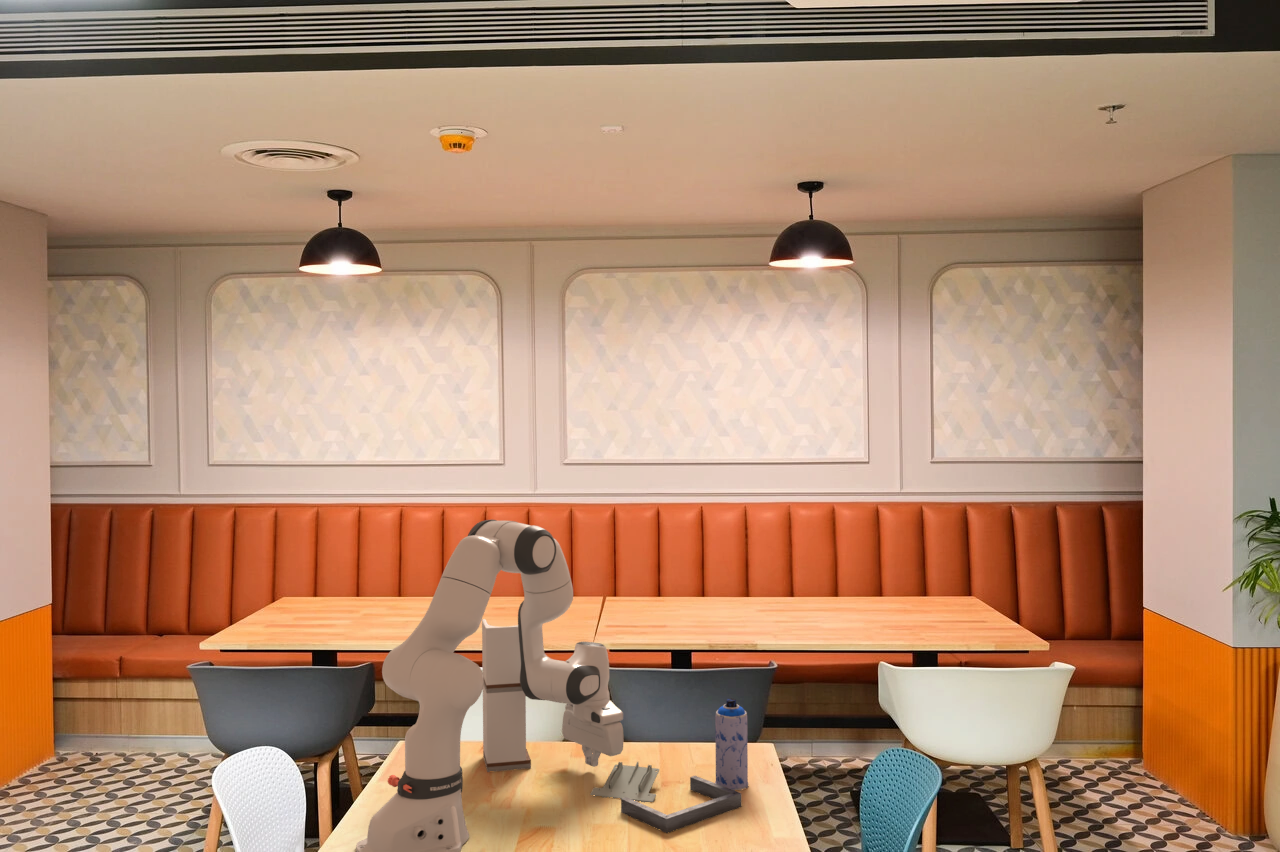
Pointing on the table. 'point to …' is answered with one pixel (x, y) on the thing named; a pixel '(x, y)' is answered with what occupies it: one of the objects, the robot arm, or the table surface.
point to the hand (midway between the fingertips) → (591, 764)
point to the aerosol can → (731, 746)
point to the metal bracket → (629, 783)
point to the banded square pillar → (503, 700)
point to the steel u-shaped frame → (720, 804)
